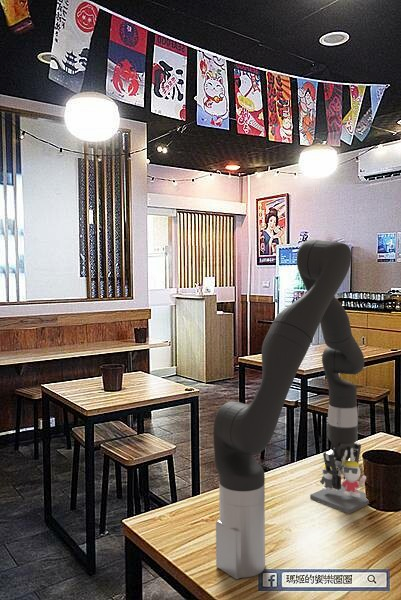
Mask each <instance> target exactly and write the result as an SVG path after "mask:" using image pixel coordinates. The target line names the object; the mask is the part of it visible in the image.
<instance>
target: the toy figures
mask: <svg viewBox="0 0 401 600" xmlns="http://www.w3.org/2000/svg"><path fill="white" fill-rule="evenodd" d="M322 468H323V469H322V475H323V476H322V477H321V479H320V481H319V482H320V484H322V485H323V486H322V489H323V490H329V488H330V490H331V491H333V492H336V491H337V489H335V488H333V486H332V474H330V473H327V472H326V467H325V464H324V465H323V466H322ZM330 469H331V467H330ZM342 475H343V476H342ZM342 475H341V479H342V477H343V481H341V484H342V486H343V487H344V488H345V487H346V490H345V491H343V494H344V495H346V496H350V495H351V491H353V492H352V496H354V497H360V496H361V495H360V493H359V492H358V489H359V488H361V487H362V485H364V484H365V483H366V480H367V476H366V475H362V477H361V469H360V463H359V462H358V463H357V462H355V461H346V462H345V464H344V467H343V469H342ZM344 477H345V478H346V479H344ZM322 489H321V490H322Z"/></svg>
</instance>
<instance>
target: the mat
mask: <svg viewBox="0 0 401 600" xmlns="http://www.w3.org/2000/svg"><path fill="white" fill-rule="evenodd" d="M345 490H346V487H345V488H344V487H343V486H342V483H341V489H339V490H337V491H336V492H333V491H331V490H330V488H329V490H323V489H320V490H318V491H316V492H313V493H311V494H310V495H309V496H310V497H309V498H310V499H311V500H313V501H315V502H318V503H321V504H323V505H325V506H328V507H331V508H333V509H335V510H338V511H340V512H343V513H346V514H347V515H350V514H351V513H354V512H356V511H358V510H360V509H362V508H363V507H365V506H367V505H369V504H370V503H369V500H368V499H367V498H366V495H365V493H366V492H364V491H361V490H358V489H357V490H358V492H359V493H360V495H361V496H360V497H354V496H352V492H353V491H351V495H350V496H346V495H344V494H343V491H345Z"/></svg>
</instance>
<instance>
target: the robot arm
mask: <svg viewBox="0 0 401 600" xmlns="http://www.w3.org/2000/svg"><path fill="white" fill-rule="evenodd" d="M351 263H352V250H351V248H350V246H349V245H347V244H346V243H344V242H340V241H339V242H338V241H332V240H331V241H329V240H321V239H309V240H308V239H307V240H305V241H304V242H302V244H301V245H300V246H299V248H298V251H297V254H296V265H297V270H298V274H299V276H300V278H301V281H302V283H303V285H304V287H305V290H306V293H304V294H303V295H302V296H301V297H299V298H298V299H297V300H295V301H293V302H292V303H290V304H289V305H288V306H286V307H285V308H284V309H282V310H281V311H280V312H279V313H278V315H277V316H276V317H275V318H274V319H273V322H272V323H271V325H270V327H269V329H268V331H267V333H266V335H265V338H264V340H263V341H262V344H261V345H262V346H261V365H262V366H261V367H262V376H261V382H260V384H259V387H258V390H257V392H256V394H255V396H254V398H253V400H252V402H251V403H250V404H247V403H243V402H239V401H227V402H225V403H223V405H221V406H220V407H219V409H218V410H217V412H216V414H215V417H214V419H213V420H214V422H213V449H214V450H213V451H214V453H213V454H214V464H215V465H214V466H215V468H216V472H217V474H218V482H219V483H218V485H219V486H218V487H219V488H218V489H219V494H218V495H219V496H218V497H219V499H218V500H219V503H218V504H219V519H218V520H216V522H215V558H216V559H215V564H216V568H218V569H219V570H221V571H222V572H224V573H226V574H227V575H228V576H230V577H232V578H233V579H235V580H239V579H241V578H251V577H254V576H255V577H256V576H258V575H259V574H261V573H263V571H264V570H265V568H266V527H265V526H266V524H265V523H266V518H265V517H266V515H265V513H266V511H265V509H266V508H265V507H266V505H265V503H266V501H265V497H266V496H265V492H266V491H265V489H266V488H265V487H266V486H265V483H266V482H265V481H266V480H265V479H266V478H265V469H264V468H263V466H262V465H261V464H260V463H259V462H258V461H257V460H256V458H255V457H254V456H255V455H258V454H260V453H262V452H263V451H264V450H265V449H266V447H268V445H269V444H270V442H271V439H272V438H273V435H274V432H275V430H276V428H277V425H278V422H279V419H280V415H281V413H282V410H283V407H284V404H285V402H286V399H287V396H288V393H289V391H290V389H291V386H292V385H293V382H294V380H295V378H296V376H297V373H298V371H299V369H300V367H301V364H302V363H303V361H304V359H305V358H306V357H305V356H306V355H307V352H308V351H309V348H310V347H311V344H312V342H313V339H314V338H315V334H316V333H317V330H318V328H319V326H320V328H321V332H322V336H323V341H324V344H325V345H326V346H327V347H326V348H325V349H323V352H322V356H321V363H322V367H323V370H324V374H325V377H326V381H327V387H328V411H327V438H328V440H329V441H330V443H331V444H330V448H329V449H330V450H329V451H328V452H327V451H324V452H323V453H322V455H323V460H324V461H323V462H324V465H325V467H326V472H327V473H330V474H332V486H333V488H335V489H337V490H339V489H341V484H342V478H341V476H342V472H343V469H342V467H344V464H345V462H346V461H354V456H355V462H357V463H359V462H360V461H359V460H360V454H361V449H362V448H361V447H362V445H361V444H359V443H356V442H357V441H358V421H359V420H358V416H359V415H358V409H357V400H358V399H357V397H358V396H357V395H358V394H357V386H356V384H354V383H352V382H349V381H346V380H343V379H342V378H341V377H340V375H339V374H342V375H358V374H360V373H361V372H362V371H363V369H364V367H365V356H364V353H363V351H362V349H361V347H360V345H359V344H358V342H357V341H356V339H355V337H354V336H353V334H352V333H353V332H352V327H351V322H350V317H349V316H348V313H347V310H346V309H345V307H344V306H343V305H342V304H341V302H340V301H339V300H338V299H337V298H336V294H337V292H338V290H339V289H340V287H341V285H342V284H343V282H344V280H345V278H346V276H347V274H348V273H349V270H350V267H351ZM354 442H355V443H354ZM335 460H336V461H339V462H340V463H338V462H336V461H335ZM336 466H338V469H336ZM330 467H331V469H330ZM344 479H346V478H345V477H344V476H343V480H344Z"/></svg>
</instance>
